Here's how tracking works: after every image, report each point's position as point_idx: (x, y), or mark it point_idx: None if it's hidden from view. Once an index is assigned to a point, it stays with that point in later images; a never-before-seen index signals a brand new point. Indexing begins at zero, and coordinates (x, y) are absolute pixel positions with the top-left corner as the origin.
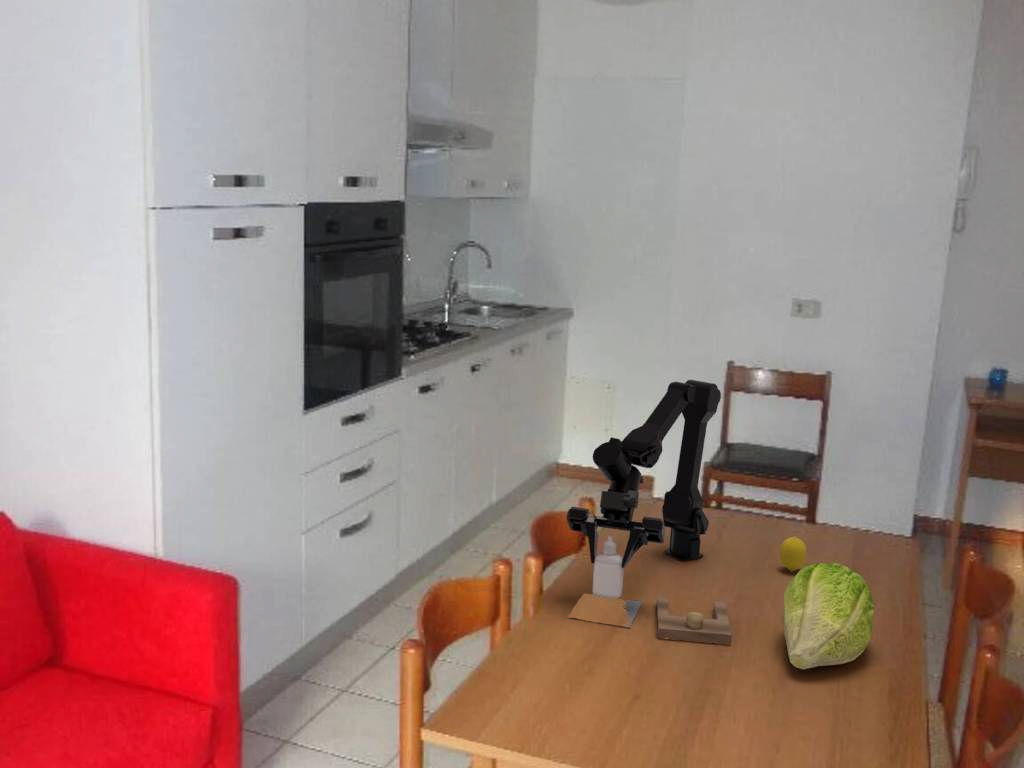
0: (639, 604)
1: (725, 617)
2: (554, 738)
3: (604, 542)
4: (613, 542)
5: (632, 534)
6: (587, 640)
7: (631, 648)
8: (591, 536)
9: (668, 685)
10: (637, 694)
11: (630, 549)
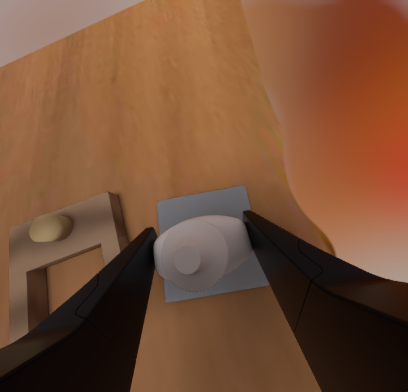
0: (167, 289)
1: (13, 289)
2: (154, 12)
3: (219, 235)
4: (172, 252)
5: (5, 363)
6: (193, 145)
7: (141, 155)
8: (325, 268)
9: (90, 109)
10: (113, 83)
11: (100, 273)
